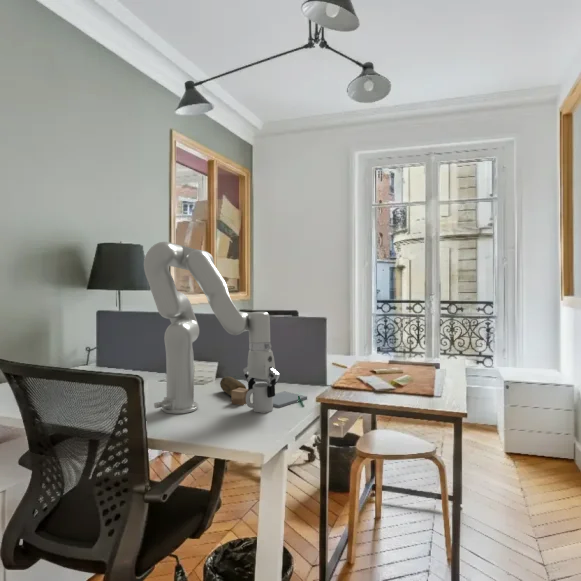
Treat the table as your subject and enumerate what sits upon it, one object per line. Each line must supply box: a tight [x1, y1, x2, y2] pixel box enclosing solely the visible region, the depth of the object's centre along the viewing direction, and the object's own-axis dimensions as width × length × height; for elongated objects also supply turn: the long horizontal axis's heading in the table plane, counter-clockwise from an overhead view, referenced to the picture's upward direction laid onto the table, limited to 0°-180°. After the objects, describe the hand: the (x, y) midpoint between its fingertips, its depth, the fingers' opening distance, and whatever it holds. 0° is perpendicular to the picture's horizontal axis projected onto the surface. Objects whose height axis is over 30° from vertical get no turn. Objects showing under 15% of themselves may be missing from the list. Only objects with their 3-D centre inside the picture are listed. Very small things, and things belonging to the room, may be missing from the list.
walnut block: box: [231, 388, 248, 406], centre depth 172 cm, size 5×5×5 cm
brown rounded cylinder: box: [219, 375, 247, 397], centre depth 184 cm, size 15×7×7 cm, turn 35°
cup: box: [245, 382, 274, 414], centre depth 163 cm, size 7×10×9 cm
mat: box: [273, 390, 308, 409], centre depth 176 cm, size 16×12×1 cm
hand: (261, 394), depth 162 cm, fingers open, 9 cm apart
